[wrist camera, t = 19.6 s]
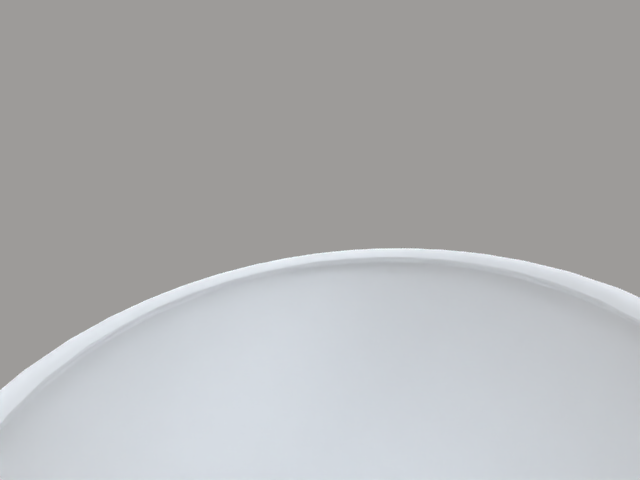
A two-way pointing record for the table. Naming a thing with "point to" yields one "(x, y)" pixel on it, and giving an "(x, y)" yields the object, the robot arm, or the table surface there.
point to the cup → (343, 377)
